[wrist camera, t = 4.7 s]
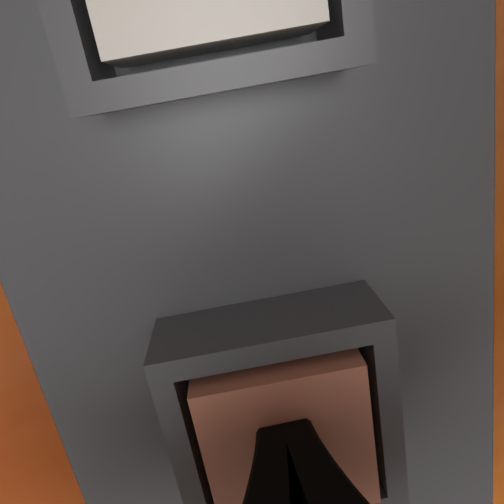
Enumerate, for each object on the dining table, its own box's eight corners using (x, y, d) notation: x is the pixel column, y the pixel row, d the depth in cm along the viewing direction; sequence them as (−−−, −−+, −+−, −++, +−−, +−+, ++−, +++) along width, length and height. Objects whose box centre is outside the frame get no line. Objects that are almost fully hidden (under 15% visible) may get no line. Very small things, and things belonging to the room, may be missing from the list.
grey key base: (456, -537, 9) (619, -969, 6) (471, 497, 18) (536, 599, 15) (-227, -424, 9) (-539, -790, 5) (130, 562, 18) (108, 683, 15)
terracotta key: (345, 326, 13) (367, 365, 11) (359, 448, 14) (380, 502, 12) (191, 355, 13) (186, 399, 11) (221, 475, 14) (222, 532, 12)
